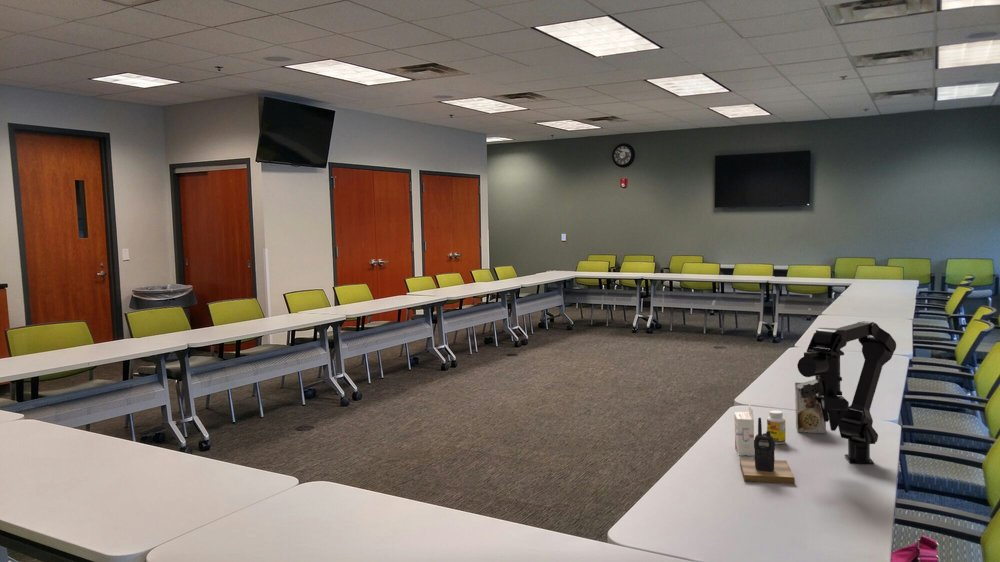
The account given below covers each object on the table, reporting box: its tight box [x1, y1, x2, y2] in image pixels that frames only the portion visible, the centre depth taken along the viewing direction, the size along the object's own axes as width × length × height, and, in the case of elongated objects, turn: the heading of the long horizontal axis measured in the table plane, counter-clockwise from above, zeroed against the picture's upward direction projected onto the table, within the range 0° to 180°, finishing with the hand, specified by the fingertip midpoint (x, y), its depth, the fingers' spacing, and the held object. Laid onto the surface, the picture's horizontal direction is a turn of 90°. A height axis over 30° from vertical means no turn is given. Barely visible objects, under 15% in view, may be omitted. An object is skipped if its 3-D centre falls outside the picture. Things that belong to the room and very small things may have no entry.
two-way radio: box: [754, 417, 776, 471], centre depth 190 cm, size 6×4×15 cm
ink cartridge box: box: [733, 402, 755, 457], centre depth 212 cm, size 9×5×15 cm, turn 168°
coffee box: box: [794, 382, 827, 434], centre depth 231 cm, size 9×6×16 cm
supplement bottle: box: [766, 410, 787, 445], centre depth 220 cm, size 6×6×10 cm
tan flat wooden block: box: [739, 458, 796, 485], centre depth 192 cm, size 14×13×2 cm
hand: (829, 425), depth 192 cm, fingers open, 9 cm apart
